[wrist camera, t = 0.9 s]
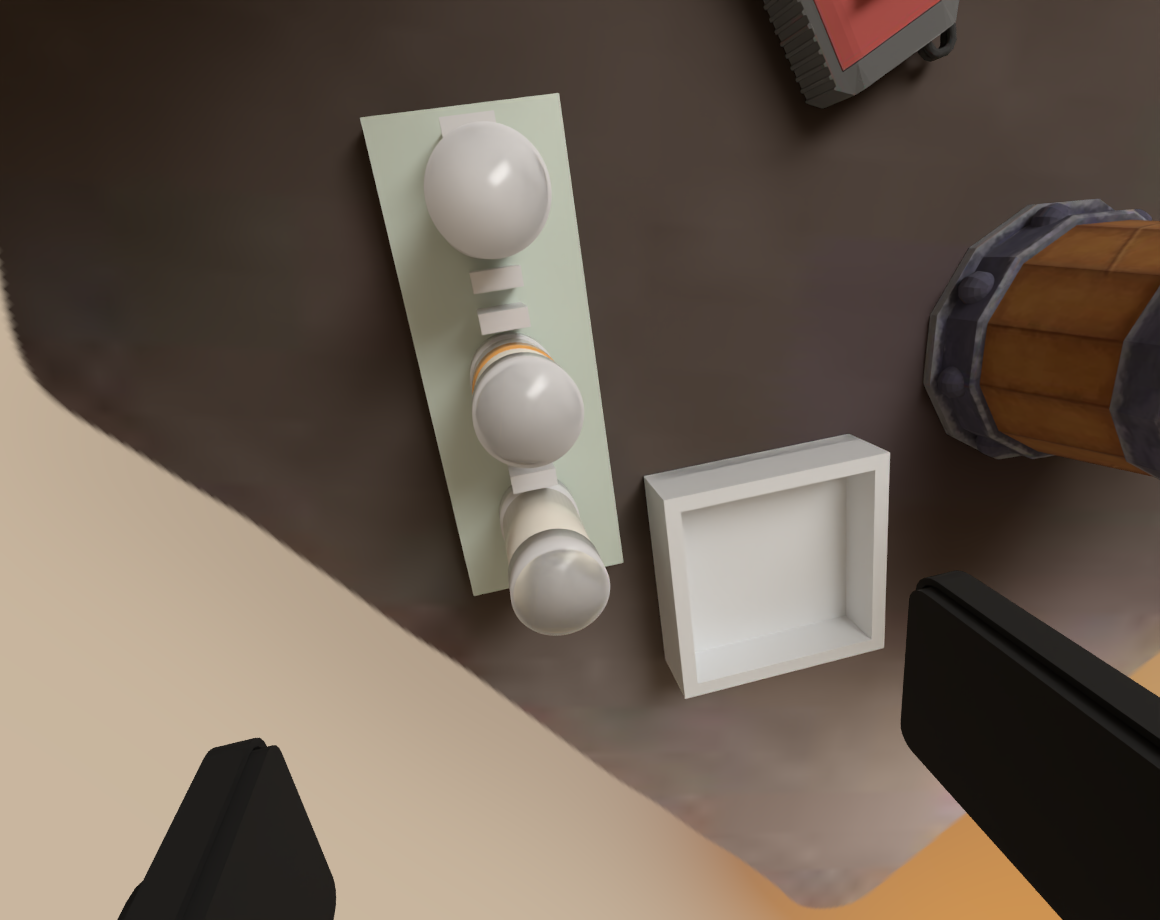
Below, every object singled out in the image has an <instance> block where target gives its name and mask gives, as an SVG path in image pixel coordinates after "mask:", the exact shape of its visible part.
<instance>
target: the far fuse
mask: <svg viewBox="0 0 1160 920" xmlns="http://www.w3.org/2000/svg"><path fill="white" fill-rule="evenodd" d="M557 482H558V485H555V486H551V487H546V488H541V489H536V490H531V491H526V492H521V493H516V494H514V493H513V489H512V485H511V486H509V487H508V489H507V490H506V491H505V493H504V494H503V496H502V498H501V501H500V505H499V518H500V525H501V532H502V536H503V538H504V540H505V545H506V552H507V558H508V565H509V567H508V582H509V589H510V596H511V603H512V607H513V610H514V612H515V614H516V616H517V617H518V618H519V620H520V621H521V622H522V623H523V624H524V625H525V626H527V627H528V628H530V629H531V630H533V631H536V632H538V633H541V634H545V635H554V636H557V635H566V634H571V633H574V632H577V631H579V630H581V629H583V628H585V627H587V626H588V625H589V624H591V623H592V622H593V621H594V620H595V619H596V618H597V617H598V616H599V615H600V614H601V612H602V611H603V609H604V608H605V606H606V604H607V601H608V598H609V594H610V580H609V576H608V573H607V570H606V568H605V566H604V564H603V562H602V560H601V557H600V555H599V553H598V551H597V549H596V547H595V546H594V545H593V543H592V542H591V541H590V539H589V537H588V535H587V533H586V530H585V528H584V526H583V524H582V521H581V519H580V515H579V510H578V508H577V505H576V503H575V501H574V499H573V497H572V494H571V493H570V491H569V489H568V488H567V487H566V486H565V485H564V484H563V483H562V482H561V481H559V480H558V479H557Z"/></svg>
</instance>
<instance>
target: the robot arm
mask: <svg viewBox="0 0 1160 920" xmlns="http://www.w3.org/2000/svg"><path fill="white" fill-rule="evenodd" d="M901 731H902V734H903V737H904V739H905V741H906V743H907V745H908V747H909V748H910V749H911V751H912V752H913V753H914V754H915V755H916V756H917V757H918V759H919V760H920V761H921V762H922V763H923V764H924V765H925V766H926V768H927V769H928V770H929V771H930V772H931V773H932V774H933V775H934V776H935V778H936V779H937V780H938V781H939V782H940V783H941V784H942V785H943V787H944V788H945V789H946V790H947V791H948V792H949V793H950V794H951V795H952V797H953V798H954V799H955V800H956V801H957V802H958V803H959V804H960V806H961V807H962V808H963V809H964V810H965V811H966V812H967V813H968V815H969V816H970V817H971V818H972V819H973V820H974V821H975V822H976V823H977V825H978V826H979V827H980V828H981V829H982V830H983V831H984V832H985V834H987V836H988V837H989V838H990V839H991V840H992V841H993V842H994V844H995V845H996V846H997V847H998V848H999V849H1000V850H1001V851H1002V852H1003V853H1004V855H1005V856H1006V857H1007V858H1008V859H1009V860H1010V861H1011V863H1013V865H1014V866H1015V867H1016V868H1017V869H1018V870H1019V871H1020V873H1021V874H1022V875H1023V876H1024V877H1025V878H1026V879H1027V881H1028V882H1029V883H1030V884H1031V885H1032V886H1033V887H1034V888H1035V889H1036V891H1037V892H1038V893H1039V894H1040V895H1041V896H1042V897H1043V898H1044V899H1045V901H1046V902H1047V903H1048V904H1049V905H1050V906H1051V907H1052V909H1053V910H1054V911H1055V912H1056V913H1057V914H1058V915H1059V916H1060V917H1061V918H1062V920H1160V697H1158V696H1157V695H1155V694H1153V693H1152V692H1150V691H1149V690H1147V689H1146V688H1144V687H1143V686H1141V685H1139V684H1138V683H1136V682H1135V681H1133V680H1132V679H1130V678H1129V677H1127V676H1126V675H1124V674H1123V673H1121V672H1119V671H1118V670H1116V669H1115V668H1113V667H1112V666H1110V665H1109V664H1107V663H1106V662H1104V661H1102V660H1101V659H1099V658H1098V657H1096V656H1095V655H1093V654H1092V653H1090V652H1089V651H1087V650H1085V649H1084V648H1082V647H1081V646H1079V645H1078V644H1076V643H1075V642H1073V641H1072V640H1070V639H1068V638H1067V637H1065V636H1064V635H1062V634H1061V633H1059V632H1058V631H1056V630H1054V629H1053V628H1051V627H1050V626H1048V625H1047V624H1045V623H1044V622H1042V621H1041V620H1039V619H1037V618H1036V617H1034V616H1033V615H1031V614H1030V613H1028V612H1027V611H1025V610H1024V609H1022V608H1020V607H1019V606H1017V605H1016V604H1014V603H1013V602H1011V601H1010V600H1008V599H1007V598H1005V597H1003V596H1002V595H1000V594H999V593H997V592H996V591H994V590H993V589H991V588H990V587H988V586H986V585H985V584H983V583H982V582H980V581H979V580H977V579H976V578H974V577H973V576H971V575H969V574H967V573H965V572H963V571H952V572H948V573H944V574H940V575H935V576H931V577H927V578H924V579H922V580H920V581H919V583H918V584H917V587H916V591H913V592H912V593H911V595H910V598H909V609H908V624H907V638H906V653H905V667H904V682H903V696H902V711H901ZM335 906H336V889H335V883H334V879H333V876H332V874H331V872H330V869H329V867H328V864H327V862H326V859H325V857H324V854H323V852H322V850H321V847H320V845H319V842H318V840H317V838H316V835H315V833H314V830H313V828H312V825H311V823H310V821H309V818H308V816H307V813H306V811H305V809H304V806H303V803H302V801H301V799H300V796H299V794H298V791H297V789H296V786H295V784H294V782H293V779H292V777H291V774H290V772H289V769H288V767H287V765H286V762H285V760H284V757H283V755H282V753H281V751H280V749H279V748H278V747H277V746H276V745H274V746H268V747H267V746H266V744H265V742H264V741H263V740H262V739H261V738H253V739H249V740H245V741H240V742H236V743H232V744H228V745H224V746H220V747H215V748H213V749H211V750H210V751H208V753H207V754H206V756H205V758H204V759H203V761H202V763H201V765H200V767H199V769H198V771H197V773H196V775H195V777H194V779H193V781H192V783H191V785H190V787H189V790H188V791H187V793H186V795H185V797H184V799H183V801H182V803H181V805H180V807H179V809H178V812H177V813H176V815H175V817H174V820H173V822H172V824H171V825H170V827H169V830H168V832H167V834H166V836H165V838H164V840H163V842H162V844H161V846H160V848H159V850H158V852H157V854H156V856H155V858H154V860H153V862H152V864H151V866H150V868H149V870H148V872H147V874H146V876H145V878H144V880H143V881H142V882H141V883H140V884H139V885H138V886H137V887H136V888H135V889H134V891H133V893H132V894H131V896H130V897H129V899H128V900H127V902H126V904H125V906H124V908H123V910H122V912H121V914H120V916H119V918H118V920H333V919H334V913H335Z"/></svg>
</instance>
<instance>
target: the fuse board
mask: <svg viewBox="0 0 1160 920" xmlns="http://www.w3.org/2000/svg"><path fill="white" fill-rule="evenodd" d="M360 120H361V124H362V128H363V133H364V137H365V141H366V145H367V149H368V154H369V158H370V162H371V166H372V170H373V175H374V179H375V183H376V187H377V192H378V196H379V200H380V204H381V208H382V213H383V217H384V221H385V225H386V229H387V234H388V238H389V242H390V246H391V250H392V255H393V259H394V263H395V267H396V271H397V276H398V280H399V284H400V288H401V292H402V297H403V301H404V305H405V309H406V313H407V318H408V322H409V326H410V330H411V334H412V339H413V343H414V347H415V351H416V355H417V360H418V364H419V368H420V372H421V376H422V381H423V385H424V389H425V393H426V397H427V402H428V406H429V410H430V414H431V418H432V423H433V427H434V431H435V435H436V439H437V444H438V448H439V452H440V456H441V460H442V465H443V469H444V473H445V477H446V481H447V486H448V490H449V494H450V498H451V502H452V507H453V511H454V515H455V519H456V523H457V528H458V532H459V536H460V540H461V544H462V549H463V553H464V557H465V561H466V566H467V570H468V574H469V578H470V582H471V587H472V591H473V595H474V596H477V595H481V594H486V593H490V592H495V591H499V590H504V589H508V588H509V582H508V567H509V565H508V558H507V552H506V545H505V540H504V538H503V536H502V532H501V525H500V518H499V505H500V501H501V498H502V496H503V494H504V493H505V491H506V490H507V489H508V487H509V486H511V485H512V489H513V493H514V494H516V493H521V492H526V491H531V490H536V489H541V488H546V487H551V486H555V485H558V482H557V479H558V480H559V481H561V482H562V483H563V484H564V485H565V486H566V487H567V488H568V489H569V491H570V493H571V494H572V497H573V499H574V501H575V503H576V505H577V508H578V510H579V515H580V519H581V521H582V524H583V526H584V528H585V530H586V533H587V535H588V537H589V539H590V541H591V542H592V543H593V545H594V546H595V547H596V549H597V551H598V553H599V555H600V557H601V560H602V562H603V564H604V566H605V567H606V566H611V565H615V564H619V563H623V555H622V548H621V541H620V534H619V526H618V519H617V512H616V504H615V497H614V490H613V483H612V475H611V468H610V461H609V454H608V446H607V439H606V432H605V424H604V417H603V410H602V403H601V395H600V388H599V381H598V374H597V366H596V359H595V352H594V345H593V337H592V330H591V323H590V315H589V308H588V301H587V294H586V286H585V279H584V272H583V265H582V257H581V250H580V243H579V236H578V228H577V221H576V214H575V206H574V199H573V192H572V185H571V177H570V170H569V163H568V156H567V148H566V141H565V134H564V127H563V119H562V112H561V105H560V97H559V93H555V94H547V95H539V96H531V97H523V98H515V99H507V100H499V101H491V102H483V103H474V104H466V105H458V106H450V107H442V108H434V109H426V110H418V111H410V112H402V113H394V114H386V115H378V116H369V117H361V118H360ZM479 121H488V122H496V123H500V124H503V125H506V126H508V127H511V128H512V129H514V130H516V131H518V132H519V133H521V134H522V135H523V136H525V137H526V138H527V139H528V140H529V141H530V142H531V143H532V144H533V145H534V147H535V148H536V149H537V150H538V152H539V154H540V155H541V157H542V158H543V161H544V163H545V165H546V167H547V170H548V173H549V177H550V182H551V190H552V199H551V207H550V212H549V216H548V219H547V221H546V224H545V226H544V228H543V229H542V231H541V233H540V234H539V235H538V237H537V238H536V239H535V240H534V241H533V242H532V243H531V244H530V245H529V246H528V247H526V248H525V249H524V250H522V251H520V252H519V253H517V254H514V255H512V256H509V257H505V258H500V259H478V258H472V257H469V256H467V255H464V254H462V253H461V252H459V251H458V250H456V249H455V248H454V247H452V246H451V245H450V243H449V242H448V241H447V240H446V239H445V238H444V237H443V236H442V235H441V233H440V232H439V231H438V229H437V228H436V226H435V224H434V223H433V221H432V219H431V217H430V214H429V212H428V209H427V205H426V202H425V196H424V175H425V170H426V166H427V163H428V160H429V158H430V156H431V154H432V152H433V150H434V148H435V147H436V146H437V144H438V143H439V142H440V141H441V140H442V139H443V137H444V136H446V135H447V134H448V133H449V132H451V131H452V130H454V129H456V128H458V127H459V126H462V125H465V124H467V123H472V122H479ZM503 332H518V333H523V334H526V335H528V336H530V337H532V338H533V339H535V340H536V341H538V342H539V343H540V344H541V345H542V346H543V347H544V349H545V350H546V351H547V352H548V353H549V355H550V356H551V358H552V359H553V360H554V361H555V362H556V363H557V364H558V365H560V366H561V367H562V368H563V370H564V371H565V372H566V373H567V374H568V375H569V376H570V377H571V378H572V379H573V381H574V382H575V384H576V385H577V387H578V389H579V391H580V393H581V396H582V399H583V404H584V421H583V426H582V429H581V432H580V435H579V437H578V439H577V440H576V442H575V443H574V445H573V446H572V447H571V449H570V450H569V451H568V452H567V453H566V454H565V455H563V456H562V457H561V458H559V459H558V460H556V461H554V462H552V463H550V464H547V465H545V466H541V467H536V468H518V467H514V466H510V465H507V464H505V463H502V462H501V461H499V460H497V459H496V458H494V457H493V456H492V455H490V454H489V453H488V452H487V451H486V450H485V448H484V447H483V446H482V444H481V443H480V441H479V440H478V437H477V435H476V433H475V429H474V426H473V419H472V390H471V384H470V365H471V361H472V358H473V355H474V353H475V352H476V350H477V349H478V347H479V346H480V345H481V344H482V343H483V342H484V341H485V340H487V339H488V338H490V337H492V336H494V335H496V334H499V333H503Z"/></svg>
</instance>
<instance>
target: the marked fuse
mask: <svg viewBox="0 0 1160 920" xmlns="http://www.w3.org/2000/svg"><path fill="white" fill-rule="evenodd" d="M470 384H471V390H472V419H473V426H474V429H475V433H476V435H477V437H478V440H479V441H480V443H481V444H482V446H483V447H484V448H485V450H486V451H487V452H488V453H489V454H490V455H492V456H493V457H494V458H496V459H497V460H499V461H501V462H502V463H505V464H507V465H510V466H514V467H518V468H536V467H541V466H545V465H547V464H550V463H552V462H554V461H556V460H558V459H559V458H561V457H562V456H563V455H565V454H566V453H567V452H568V451H569V450H570V449H571V447H572V446H573V445H574V443H575V442H576V440H577V439H578V437H579V435H580V432H581V429H582V426H583V421H584V404H583V399H582V396H581V393H580V391H579V389H578V387H577V385H576V384H575V382H574V381H573V379H572V378H571V377H570V376H569V375H568V374H567V373H566V372H565V371H564V370H563V368H562V367H561V366H560V365H558V364H557V363H556V362H555V361H554V360H553V359H552V358H551V356H550V355H549V353H548V352H547V351H546V350H545V349H544V347H543V346H542V345H541V344H540V343H539V342H538V341H536V340H535V339H533V338H532V337H530V336H528V335H526V334H523V333H518V332H503V333H499V334H496V335H494V336H492V337H490V338H488V339H487V340H485V341H484V342H483V343H482V344H481V345H480V346H479V347H478V349H477V350H476V352H475V353H474V355H473V358H472V361H471V365H470Z"/></svg>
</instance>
